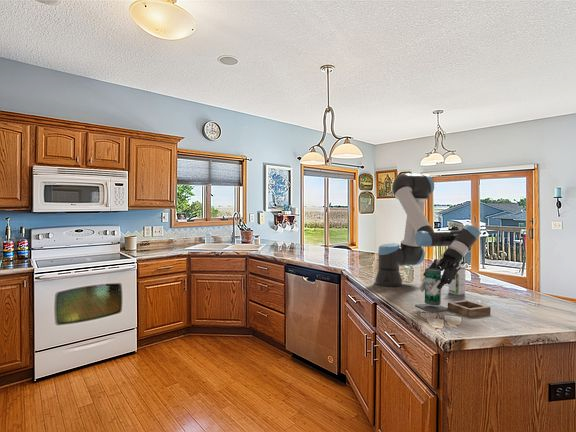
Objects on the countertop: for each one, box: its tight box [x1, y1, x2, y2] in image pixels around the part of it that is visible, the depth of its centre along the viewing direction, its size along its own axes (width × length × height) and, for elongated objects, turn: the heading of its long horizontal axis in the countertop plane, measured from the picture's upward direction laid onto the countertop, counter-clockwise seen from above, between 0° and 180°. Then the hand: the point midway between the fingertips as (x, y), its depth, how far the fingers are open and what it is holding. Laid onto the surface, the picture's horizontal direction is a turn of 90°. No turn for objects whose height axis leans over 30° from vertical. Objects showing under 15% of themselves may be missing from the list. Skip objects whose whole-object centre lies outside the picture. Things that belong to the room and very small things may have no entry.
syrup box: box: [448, 265, 466, 296], centre depth 170 cm, size 6×6×14 cm
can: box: [424, 267, 442, 306], centre depth 145 cm, size 6×6×15 cm
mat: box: [414, 303, 451, 314], centre depth 145 cm, size 10×10×1 cm
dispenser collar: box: [447, 299, 491, 318], centre depth 140 cm, size 11×11×3 cm
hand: (426, 291), depth 143 cm, fingers closed on can, 6 cm apart
